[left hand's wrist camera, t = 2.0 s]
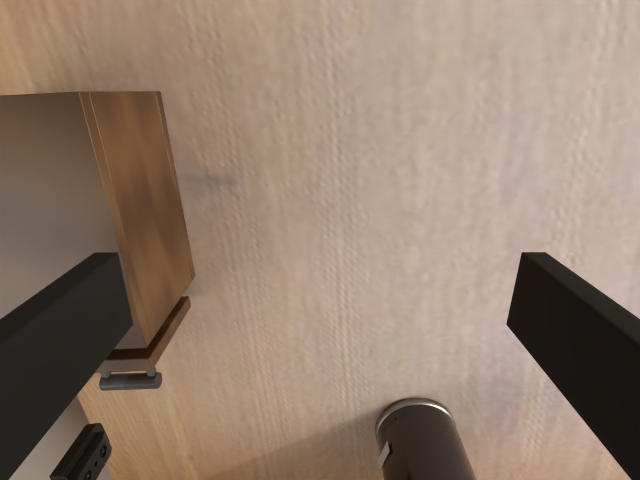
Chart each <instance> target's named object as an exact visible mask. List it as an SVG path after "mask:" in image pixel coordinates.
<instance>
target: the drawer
mask: <svg viewBox="0 0 640 480" xmlns="http://www.w3.org/2000/svg"><path fill="white" fill-rule="evenodd" d="M190 307H191V304H190V299H189V296H184V297H181V298H180V299H179V301H178V302H177V303H176V305H175V306H174V308H173V309H172V311H171V312H170V314H169V315H168V317H167V318H166V320H165V321H164V323H163V324H162V326H161V327H160V329H159V330H158V332H157V333H156V334H155V336H154V337H153V339H152V340H151V342H150V343H149V345H148V346H147V348H134V349H113V351H112V352H111V353H110V354H109V355H108V357H107V358H106V359H105V360H104V362H103V363H102V364H101V365H100V367H99V368H98V369H97V370H96V372H95V373H99V372H100V373H101V376H102V377H101V379H100V383H99V386H100V389H101V390H103V391H104V390H132V389H158V388H159V387H160V386H161V383H162V374H161V373H160V372H156V369H155V365H156V363H157V362H158V360H159V358H160V357H161V355H162V353H163V352H164V350H165V348H166V347H167V345H168V343H169V342H170V340H171V338H172V337H173V335H174V333H175V332H176V330H177V328H178V327H179V325H180V323H181V322H182V320H183V318H184V317H185V315H186V314H187V312H188V310H189V309H190ZM127 371H146V372H147V373H122V374H111V372H127Z"/></svg>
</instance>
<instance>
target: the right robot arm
mask: <svg viewBox="0 0 640 480" xmlns="http://www.w3.org/2000/svg"><path fill="white" fill-rule="evenodd" d="M375 432H376V438H377V443H378V445H379V451H380V456H379V458H378V460H377V462H378V468H379V471H380V469H381V467H382V471H383V477H384V480H477V479H476V477H475V474H474V472H473V469H472V467H471V464H470V462H469V459H468V457H467V454H466V452H465V449H464V447H463V444H462V442H461V439H460V437H459V434H458V432H457V429H456V425H455V422H454V419H453V417H452V415H451V413H450V412H449V410H448V409H447V408H446V407H445V406H443V405H442V404H440V403H438V402H436V401H433V400H430V399H425V398H412V399H406V400H402V401H400V402H397V403H395V404H393V405H391V406H390V407H388V408H387V409H386V410H385V411H384V412H383V413H382V414H381V415H380V417H379V418H378V420H377V423H376V428H375ZM111 449H112V447H111V445H110V443H109V439H108V437H107V435H106V432H105V430H104V428H103V426H102V424H101V423H95V424H87V425H86V426H85V427H84V428H83V430H82V431H81V433H80V434H79V435H78V437H77V438H76V440H75V441H74V443H73V444H72V445H71V447H70V448H69V450H68V451H67V452H66V454H65V455H64V457H63V458H62V459H61V461H60V462H59V464H58V465H57V467H56V468H55V469H54V471H53V472H52V474H51V475H50V479H51V480H96V479H97V477H98V476H99V474H100V472H101V469H103V467H104V465H105V463H106V462H107V460H108V458H109V457H110V455H111Z"/></svg>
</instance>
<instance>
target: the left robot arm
mask: <svg viewBox="0 0 640 480" xmlns="http://www.w3.org/2000/svg"><path fill="white" fill-rule="evenodd" d="M132 326H133V319H132V315H131V310H130V305H129V301H128V296H127V291H126V287H125V282H124V277H123V273H122V268H121V264H120V259H119V254H118V252H94V253H93V254H92V255H90V256H89V257H87V258H86V259H85V260H83V261H82V262H80V263H79V264H77V265H76V266H75V267H73V268H72V269H70V270H69V271H68V272H66V273H65V274H63V275H62V276H61V277H59V278H58V279H56V280H55V281H53V282H52V283H51V284H49V285H48V286H46V287H45V288H44V289H42V290H41V291H39V292H38V293H37V294H35V295H34V296H32V297H31V298H29V299H28V300H27V301H25V302H24V303H22V304H21V305H20V306H18V307H17V308H15V309H14V310H13V311H11V312H10V313H8V314H7V315H5V316H4V317H3V318H1V319H0V480H9V478H10V477H11V476H12V475H13V473H14V472H15V471H16V470H17V468H18V467H19V466H20V465H21V463H22V462H23V461H24V460H25V459H26V457H27V456H28V455H29V454H30V452H31V451H32V450H33V449H34V447H35V446H36V445H37V444H38V442H39V441H40V440H41V439H42V437H43V436H44V435H45V434H46V432H47V431H48V430H49V429H50V427H51V426H52V425H53V424H54V423H55V421H56V420H57V419H58V418H59V416H60V415H61V414H62V413H63V411H64V410H65V409H66V408H67V406H68V405H69V404H70V403H71V401H72V400H73V399H74V398H75V396H76V395H77V394H78V393H79V391H80V390H81V389H82V388H83V387H84V385H85V384H86V383H87V382H88V380H89V379H90V378H91V377H92V375H93V374H94V373H95V372H96V370H97V369H98V368H99V367H100V365H101V364H102V363H103V362H104V360H105V359H106V358H107V357H108V355H109V354H110V353H111V352H112V351H113V349H114V348H115V347H116V346H117V344H118V343H119V342H120V341H121V339H122V338H123V337H124V336H125V334H126V333H127V332H128V331H129V329H130V328H131V327H132ZM507 326H508V327H509V328H510V329H511V331H512V332H513V333H514V334H515V336H516V337H517V338H518V339H519V341H520V342H521V343H522V344H523V346H524V347H525V348H526V349H527V351H528V352H529V353H530V354H531V355H532V357H533V358H534V359H535V360H536V362H537V363H538V364H539V365H540V367H541V368H542V369H543V370H544V372H545V373H546V374H547V375H548V377H549V378H550V379H551V380H552V382H553V383H554V384H555V385H556V387H557V388H558V389H559V390H560V391H561V393H562V394H563V395H564V396H565V398H566V399H567V400H568V401H569V403H570V404H571V405H572V406H573V408H574V409H575V410H576V411H577V413H578V414H579V415H580V416H581V418H582V419H583V420H584V421H585V423H586V424H587V425H588V426H589V428H590V429H591V430H592V431H593V432H594V434H595V435H596V436H597V437H598V439H599V440H600V441H601V442H602V444H603V445H604V446H605V447H606V449H607V450H608V451H609V452H610V454H611V455H612V456H613V457H614V459H615V460H616V461H617V462H618V464H619V465H620V466H621V467H622V469H623V470H624V471H625V472H626V473H627V475H628V476H629V477H630V478H631V480H640V319H639V318H637V317H636V316H635V315H633V314H632V313H630V312H629V311H627V310H626V309H625V308H623V307H622V306H620V305H619V304H618V303H616V302H615V301H613V300H612V299H611V298H609V297H608V296H606V295H605V294H603V293H602V292H601V291H599V290H598V289H596V288H595V287H594V286H592V285H591V284H589V283H588V282H587V281H585V280H584V279H582V278H581V277H579V276H578V275H577V274H575V273H574V272H572V271H571V270H570V269H568V268H567V267H565V266H564V265H563V264H561V263H560V262H558V261H557V260H555V259H554V258H553V257H551V256H550V255H548V254H547V253H546V252H522V254H521V259H520V264H519V268H518V273H517V277H516V282H515V287H514V291H513V296H512V301H511V305H510V310H509V315H508V319H507Z"/></svg>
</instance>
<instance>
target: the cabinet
mask: <svg viewBox="0 0 640 480" xmlns="http://www.w3.org/2000/svg"><path fill="white" fill-rule="evenodd" d="M94 252H118V254H119V259H120V264H121V268H122V273H123V277H124V282H125V287H126V291H127V296H128V301H129V305H130V310H131V315H132V319H133V326H132V327H131V328H130V329H129V331H128V332H127V333H126V334H125V336H124V337H123V338H122V339H121V341H120V342H119V343H118V344H117V346H116V347H115V348H114V349H134V348H147V346H148V345H149V343H150V342H151V340H152V339H153V337H154V336H155V334H156V333H157V332H158V330H159V329H160V327H161V326H162V324H163V323H164V321H165V320H166V318H167V317H168V315H169V314H170V312H171V311H172V309H173V308H174V306H175V305H176V303H177V302H178V301H179V299H180V298H181V296H182V295H183V293H184V292H185V290H186V289H187V287H188V286H189V284H190V283H191V281H192V280H193V278H194V277H195V273H194V268H193V262H192V257H191V252H190V246H189V241H188V236H187V231H186V225H185V220H184V215H183V209H182V204H181V199H180V194H179V188H178V183H177V178H176V172H175V167H174V162H173V157H172V151H171V146H170V141H169V135H168V130H167V125H166V120H165V114H164V109H163V104H162V98H161V93H160V92H64V93H44V94H24V95H4V96H0V319H1V318H3V317H4V316H5V315H7V314H8V313H10V312H11V311H13V310H14V309H15V308H17V307H18V306H20V305H21V304H22V303H24V302H25V301H27V300H28V299H29V298H31V297H32V296H34V295H35V294H37V293H38V292H39V291H41V290H42V289H44V288H45V287H46V286H48V285H49V284H51V283H52V282H53V281H55V280H56V279H58V278H59V277H61V276H62V275H63V274H65V273H66V272H68V271H69V270H70V269H72V268H73V267H75V266H76V265H77V264H79V263H80V262H82V261H83V260H85V259H86V258H87V257H89V256H90V255H92V254H93V253H94Z"/></svg>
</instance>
